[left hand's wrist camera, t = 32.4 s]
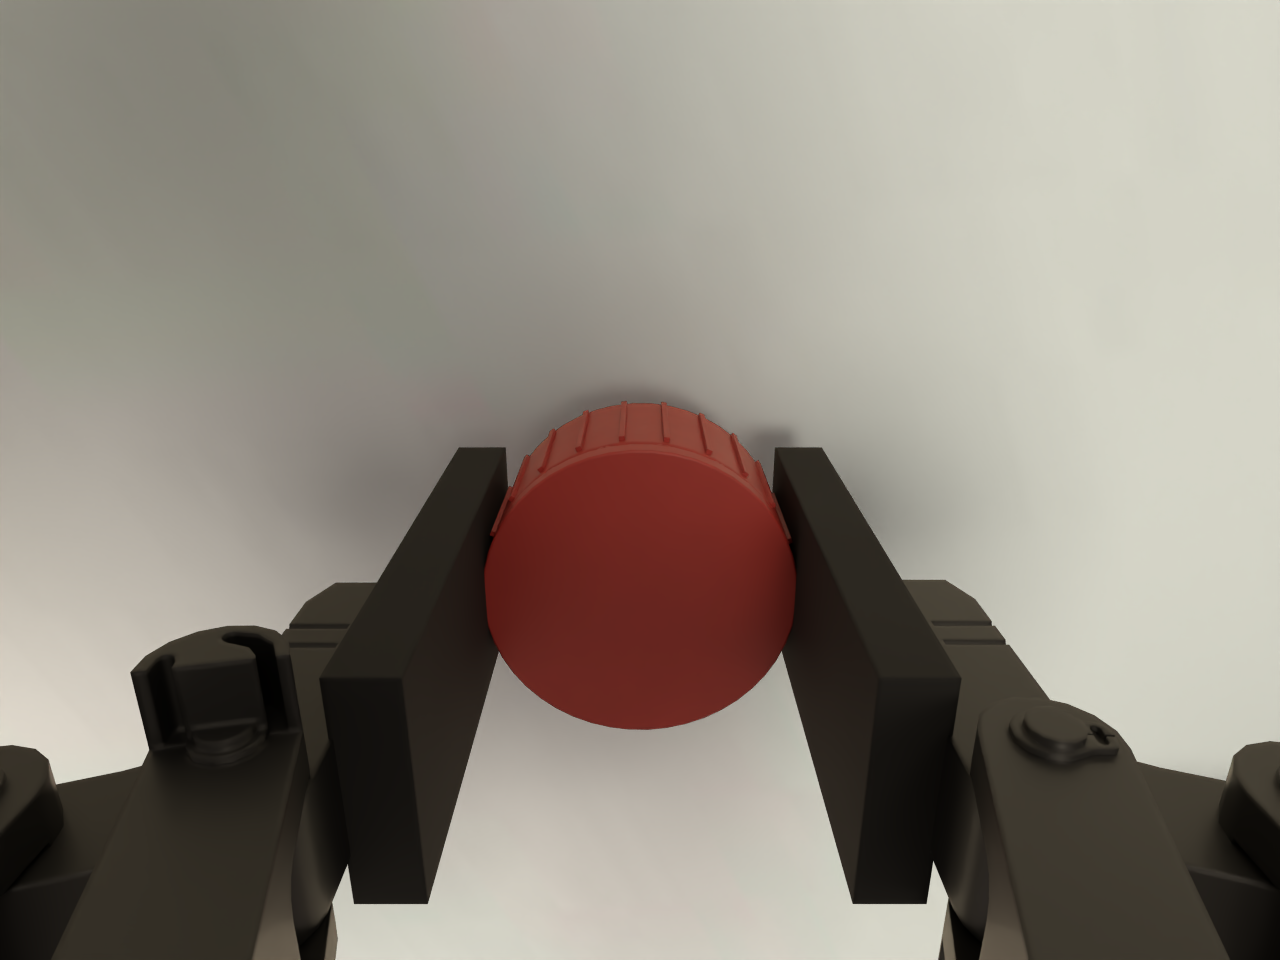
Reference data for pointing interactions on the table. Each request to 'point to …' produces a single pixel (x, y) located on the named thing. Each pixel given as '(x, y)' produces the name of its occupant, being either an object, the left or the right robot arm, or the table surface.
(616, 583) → the cap
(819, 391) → the table surface
